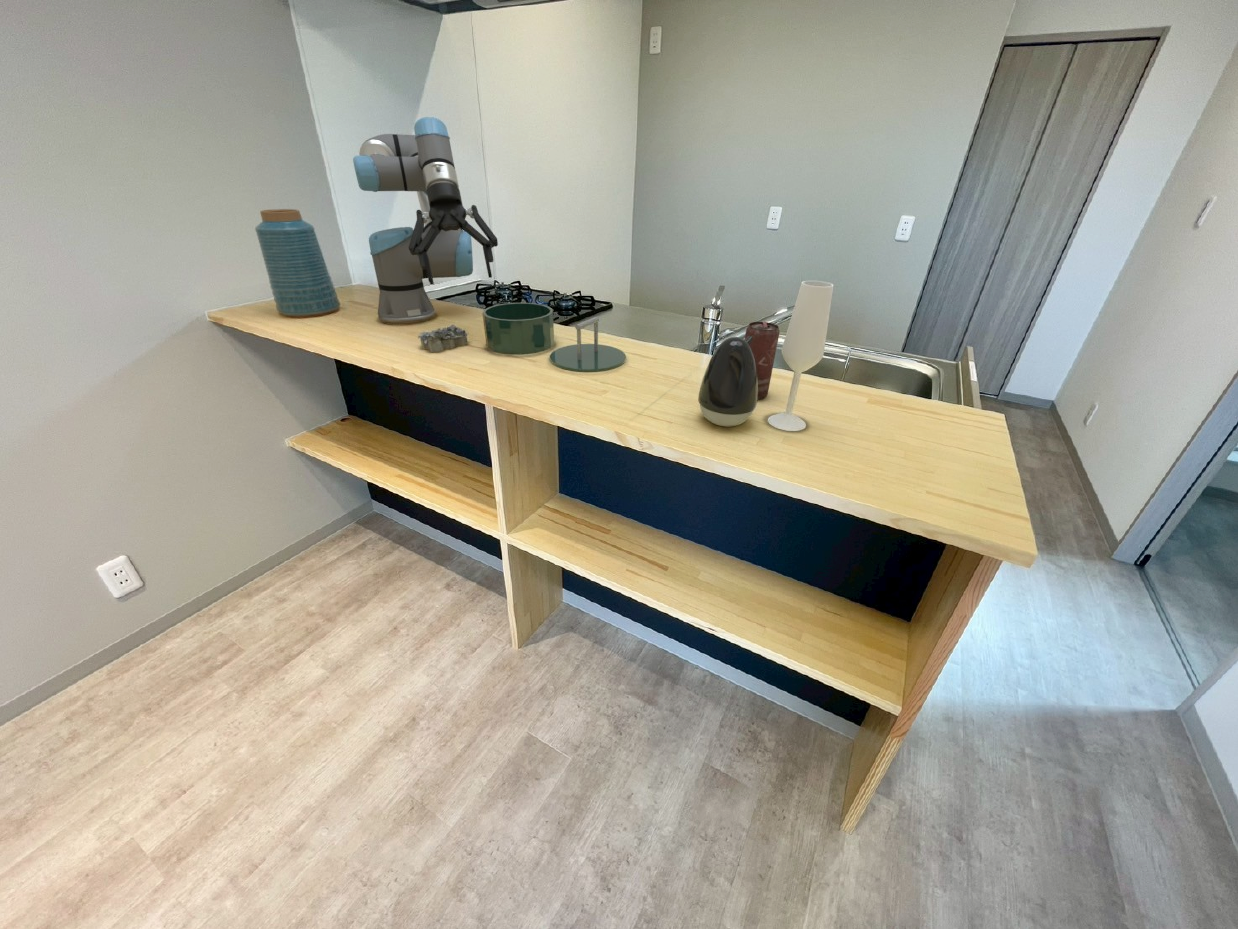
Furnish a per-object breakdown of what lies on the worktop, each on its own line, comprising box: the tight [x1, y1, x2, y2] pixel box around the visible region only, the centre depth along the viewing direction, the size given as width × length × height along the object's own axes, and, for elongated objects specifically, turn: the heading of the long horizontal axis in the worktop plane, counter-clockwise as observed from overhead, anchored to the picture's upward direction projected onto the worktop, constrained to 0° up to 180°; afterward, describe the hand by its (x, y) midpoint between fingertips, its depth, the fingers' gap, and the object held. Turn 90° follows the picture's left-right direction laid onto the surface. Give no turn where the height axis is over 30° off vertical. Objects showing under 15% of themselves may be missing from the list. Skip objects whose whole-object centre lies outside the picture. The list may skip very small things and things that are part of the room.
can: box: [744, 320, 780, 401], centre depth 96 cm, size 6×6×14 cm
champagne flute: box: [767, 280, 835, 432], centre depth 82 cm, size 7×7×24 cm
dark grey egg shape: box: [697, 336, 758, 428], centre depth 85 cm, size 10×10×15 cm
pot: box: [481, 302, 555, 356], centre depth 120 cm, size 17×17×8 cm
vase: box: [254, 208, 341, 319], centre depth 139 cm, size 16×16×27 cm
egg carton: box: [417, 324, 470, 353], centre depth 120 cm, size 11×8×4 cm
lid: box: [549, 316, 627, 373], centre depth 112 cm, size 18×18×9 cm
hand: (461, 278), depth 116 cm, fingers open, 13 cm apart
